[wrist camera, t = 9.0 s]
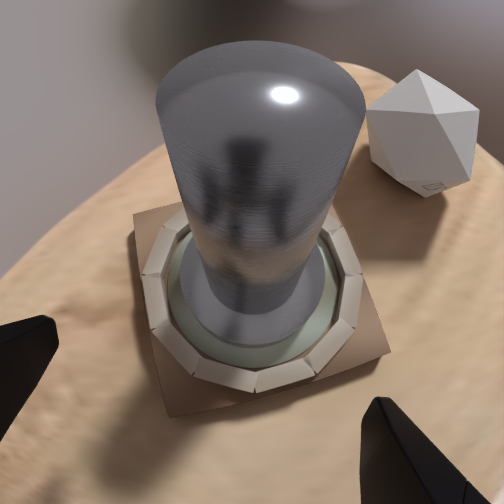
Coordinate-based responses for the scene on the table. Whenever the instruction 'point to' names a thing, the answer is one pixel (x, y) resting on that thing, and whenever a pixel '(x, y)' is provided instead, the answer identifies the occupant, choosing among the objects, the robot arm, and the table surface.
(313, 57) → the silver round peg
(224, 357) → the board
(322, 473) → the table surface
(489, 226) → the table surface
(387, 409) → the robot arm
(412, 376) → the table surface
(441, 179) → the die
